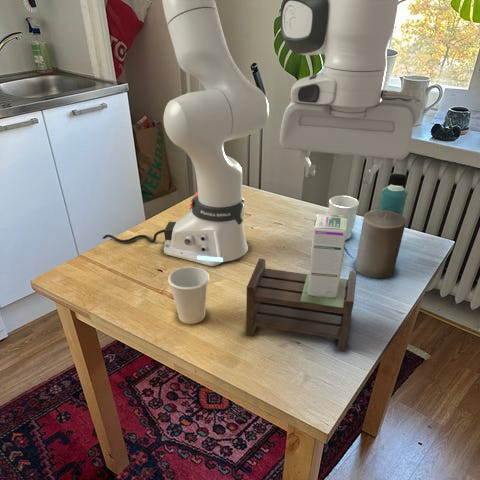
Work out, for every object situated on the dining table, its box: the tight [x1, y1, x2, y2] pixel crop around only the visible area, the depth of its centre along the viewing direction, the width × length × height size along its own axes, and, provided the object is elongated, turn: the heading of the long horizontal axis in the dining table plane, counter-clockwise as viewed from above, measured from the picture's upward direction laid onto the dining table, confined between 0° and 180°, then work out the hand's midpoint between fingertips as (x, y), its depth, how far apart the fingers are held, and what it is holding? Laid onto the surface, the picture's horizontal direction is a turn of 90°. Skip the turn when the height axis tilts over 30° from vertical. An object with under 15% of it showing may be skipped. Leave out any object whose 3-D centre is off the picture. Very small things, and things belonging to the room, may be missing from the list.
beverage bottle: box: [377, 172, 409, 216], centre depth 116 cm, size 6×7×20 cm
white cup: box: [327, 195, 360, 241], centre depth 125 cm, size 8×8×10 cm
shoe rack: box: [245, 258, 358, 352], centre depth 91 cm, size 20×11×12 cm, turn 76°
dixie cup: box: [167, 266, 210, 325], centre depth 95 cm, size 8×8×10 cm
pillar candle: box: [354, 209, 407, 279], centre depth 109 cm, size 10×10×15 cm
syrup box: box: [307, 213, 347, 298], centre depth 84 cm, size 6×6×14 cm
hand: (338, 179), depth 75 cm, fingers open, 8 cm apart
